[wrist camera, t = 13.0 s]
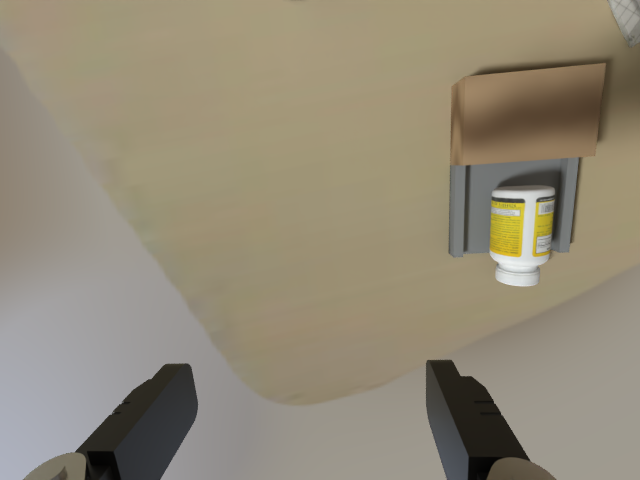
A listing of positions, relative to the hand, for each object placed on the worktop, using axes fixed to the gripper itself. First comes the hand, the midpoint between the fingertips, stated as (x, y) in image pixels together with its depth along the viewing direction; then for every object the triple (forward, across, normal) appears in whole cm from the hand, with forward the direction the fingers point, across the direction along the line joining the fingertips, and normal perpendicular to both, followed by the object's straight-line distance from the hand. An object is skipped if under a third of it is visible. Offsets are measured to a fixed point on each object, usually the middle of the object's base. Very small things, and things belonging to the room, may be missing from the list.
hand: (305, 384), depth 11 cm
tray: (+28, -19, -1) cm, 34 cm away
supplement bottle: (+25, -19, -4) cm, 32 cm away
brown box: (+28, -19, -10) cm, 35 cm away
